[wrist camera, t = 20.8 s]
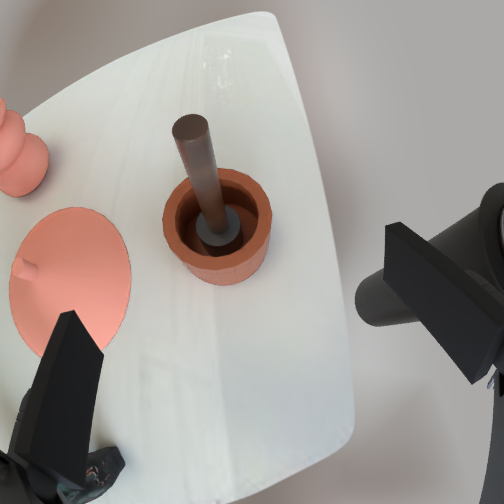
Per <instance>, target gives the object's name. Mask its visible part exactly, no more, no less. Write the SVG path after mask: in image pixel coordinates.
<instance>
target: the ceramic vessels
mask: <svg viewBox="0 0 504 504" xmlns="http://www.w3.org/2000/svg"><path fill="white" fill-rule="evenodd" d="M48 163H49V153H48V149H47V146H46V144H45V143H44V141H43V140H42V139H40V138H39V137H38V136H36V135H34V134H31V133H25V123H24V120H23V119H22V117H21V115H20V114H19V113H17V112H15V111H12V110H6V103H5V100H4V99H2V98H0V190H1V191H2V192H3V193H5V194H6V195H8V196H11V197H21V196H24V195H26V194H28V193H30V192H31V191H33V190H34V189H35V188H36V187H37V186H38V185H39V184H40V183H41V181H42V180H43V178H44V176H45V174H46V171H47V168H48ZM130 287H131V272H130V262H129V258H128V253H127V249H126V247H125V244H124V242H123V240H122V237H121V235H120V234H119V232H118V231H117V229H116V228H115V227H114V225H113V224H112V223H111V222H110V221H109V220H108V219H107V218H105V217H104V216H103V215H101V214H99V213H98V212H96V211H94V210H91V209H87V208H83V207H70V208H66V209H61V210H58V211H56V212H54V213H52V214H50V215H48V216H47V217H45V218H44V219H43V220H41V221H40V222H39V223H37V225H36V226H35V227H34V228H33V229H32V230H31V231H30V232H29V233H28V235H27V236H26V238H25V239H24V241H23V242H22V244H21V246H20V248H19V250H18V252H17V254H16V257H15V260H14V261H13V264H12V270H11V276H10V283H9V299H10V307H11V312H12V316H13V319H14V323H15V325H16V327H17V329H18V332H19V334H20V336H21V337H22V339H23V340H24V341H25V343H26V344H27V346H28V347H29V348H30V349H32V350H33V351H34V352H35V353H36V354H37V355H38V356H40V357H42V356H43V354H44V351H45V349H46V346H47V344H48V341H49V339H50V336H51V334H52V331H53V329H54V327H55V324H56V322H57V320H58V318H59V315H60V313H63V312H67V311H71V310H75V312H76V313H77V315H78V317H79V318H80V320H81V322H82V323H83V325H84V326H85V328H86V329H87V331H88V332H89V334H90V335H91V337H92V338H93V340H94V341H95V343H96V344H97V346H98V347H99V349H100V350H102V349H103V348H105V347H106V346H107V345H108V343H109V342H110V341H111V339H112V338H113V337H114V335H115V334H116V333H117V331H118V329H119V326H120V324H121V322H122V320H123V318H124V315H125V312H126V308H127V305H128V302H129V295H130Z"/></svg>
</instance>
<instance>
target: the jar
mask: <svg viewBox="0 0 504 504" xmlns="http://www.w3.org/2000/svg"><path fill="white" fill-rule="evenodd" d="M217 171H218V176H219V181H220V186H221V191H222V196H223V201H224V205H227V206H229V207H231V208H233V209H234V210H235V211H236V212H237V214H238V215H239V218H240V222H241V231H242V245H241V248H240V250H238V251H236V252H234V253H232V254H230V255H225V256H220V257H212V256H211V255H209V254H208V253H207V251H206V250H205V248H204V246H203V244H202V242H201V240H200V238H199V236H198V234H197V232H196V221H197V218H198V216H199V214H200V213H201V212H202V211H201V208H200V206H199V203H198V201H197V198H196V195H195V193H194V190H193V188H192V185H191V182H190V180H189V177H188V178H186V179H185V180H184V181H183V182H182V183H181V184H179V185H178V186H177V187H176V188H175V190H174V191H173V192H172V194H171V196H170V197H169V199H168V201H167V202H166V205H165V209H164V214H163V219H162V221H163V231H164V236H165V238H166V240H167V242H168V244H169V247H170V249H171V250H172V251H173V252H174V253H175V254H176V256H177V257H178V258H179V259H180V260H181V261H182V262H183V263H184V264H185V266H186V267H187V268H188V269H189V270H190V271H191V272H192V273H193V274H194V275H195V276H197V277H198V278H200V279H201V280H203V281H205V282H208V283H211V284H214V285H232V284H236V283H239V282H241V281H244V280H245V279H247V278H249V277H250V276H251V275H253V274H254V273H255V272H256V271H257V270H258V268H259V267H260V266H261V264H262V262H263V260H264V258H265V255H266V253H267V248H268V242H269V236H270V229H271V220H272V211H271V207H270V203H269V199H268V197H267V195H266V194H265V192H264V191H263V189H262V188H261V186H260V185H259V184H258V183H257V182H255V181H254V180H253V179H252V178H251V177H249V176H248V175H246V174H243V173H241V172H238V171H235V170H232V169H222V168H217Z"/></svg>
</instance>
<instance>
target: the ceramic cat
mask: <svg viewBox="0 0 504 504" xmlns="http://www.w3.org/2000/svg"><path fill="white" fill-rule="evenodd" d="M124 467H125V462H124V460H123V458H122V456H121V455H120V452H119V450H118V448H117V447H107V448H103V449H99V450H96V451H94V452H90V453H88V460H87V472H86V485H85V490H81V489H71V488H67V487H65V486H64V485H62V484H60V483H59V482H58V485H57V488H58V489H60V490H61V491H62V493H63V494H64V496H65V497H66V499H67V500H68V502H69V504H85V503H88V502H90V501H92V500H94V499H96V498H98V497H100V496H101V495H102V494H104V493H105V492H106V491H107V490H108V489H109V488H110V487H112V485H113V484H114V482H115V480H116V479H117V477H118V475H119V473H120V472H121V471H122V469H123V468H124Z"/></svg>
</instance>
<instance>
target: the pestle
mask: <svg viewBox="0 0 504 504" xmlns="http://www.w3.org/2000/svg"><path fill="white" fill-rule="evenodd" d="M172 134H173V137H174V140H175V142H176V145H177V148H178V150H179V153H180V156H181V159H182V161H183V164H184V167H185V169H186V172H187V175H188V177H189V180H190V182H191V185H192V188H193V190H194V193H195V195H196V198H197V201H198V203H199V206H200V208H201V211H202V212H201V213H200V214H199V216H198V218H197V221H196V232H197V234H198V236H199V238H200V240H201V242H202V244H203V246H204V248H205V250H206V251H207V253H208V254H209V255H211V256H212V257H220V256H225V255H230V254H232V253H234V252H236V251H238V250H240V248H241V245H242V231H241V222H240V218H239V215H238V214H237V212H236V211H235V210H234V209H233V208H231V207H229V206H227V205H224V201H223V196H222V191H221V186H220V181H219V176H218V171H217V166H216V161H215V156H214V151H213V146H212V141H211V136H210V131H209V126H208V122H207V120H206V119H205V118H204V117H202V116H200V115H197V114H189V115H185V116H183V117H181V118H179V119H178V120H177V121H176V122H175V124H174V125H173V128H172Z"/></svg>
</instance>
